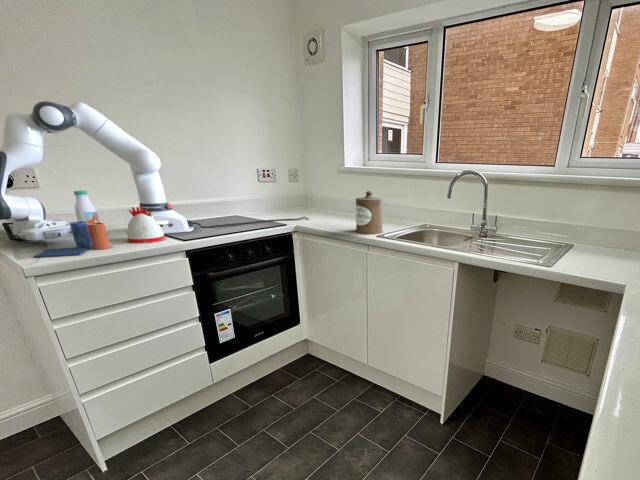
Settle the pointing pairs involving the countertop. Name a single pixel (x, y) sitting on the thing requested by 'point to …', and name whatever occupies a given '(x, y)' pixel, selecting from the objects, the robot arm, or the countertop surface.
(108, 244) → the terracotta cup
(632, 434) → the countertop surface
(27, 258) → the countertop surface
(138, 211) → the white crested dome
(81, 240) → the blue cup
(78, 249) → the blue mat
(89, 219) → the milk bottle
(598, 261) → the countertop surface
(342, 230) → the countertop surface
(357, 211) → the wooden container
